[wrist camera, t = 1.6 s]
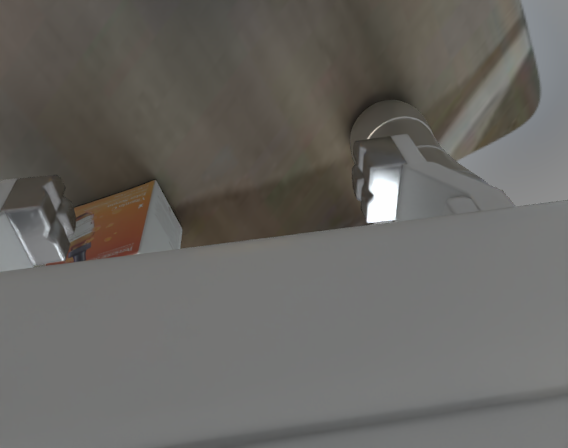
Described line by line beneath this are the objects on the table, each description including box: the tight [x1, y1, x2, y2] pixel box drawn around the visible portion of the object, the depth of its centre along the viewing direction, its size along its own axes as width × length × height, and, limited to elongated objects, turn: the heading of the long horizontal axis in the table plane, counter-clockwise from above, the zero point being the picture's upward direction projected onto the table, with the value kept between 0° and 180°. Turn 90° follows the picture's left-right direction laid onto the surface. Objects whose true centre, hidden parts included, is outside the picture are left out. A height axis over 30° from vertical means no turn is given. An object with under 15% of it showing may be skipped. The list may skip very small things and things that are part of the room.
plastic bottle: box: [350, 100, 489, 222], centre depth 33 cm, size 6×7×20 cm
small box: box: [46, 180, 182, 266], centre depth 39 cm, size 8×6×10 cm
